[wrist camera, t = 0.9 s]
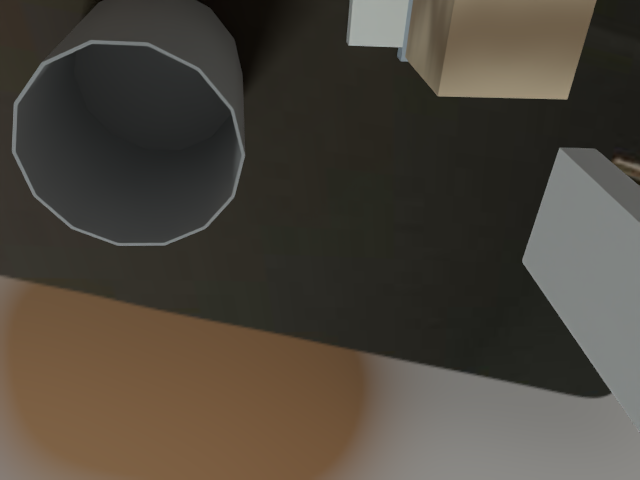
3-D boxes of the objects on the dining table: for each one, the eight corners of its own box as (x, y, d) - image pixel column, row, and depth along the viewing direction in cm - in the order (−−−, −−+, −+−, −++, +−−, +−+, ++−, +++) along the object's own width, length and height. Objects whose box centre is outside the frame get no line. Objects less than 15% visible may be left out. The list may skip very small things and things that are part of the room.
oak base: (423, -73, 28) (464, -58, 23) (544, -66, 28) (610, -49, 23) (405, 57, 31) (437, 96, 26) (514, 60, 32) (567, 99, 27)
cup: (242, -9, 29) (245, 46, 21) (242, 148, 33) (244, 245, 25) (61, -18, 28) (-14, 35, 20) (85, 145, 32) (32, 245, 24)
